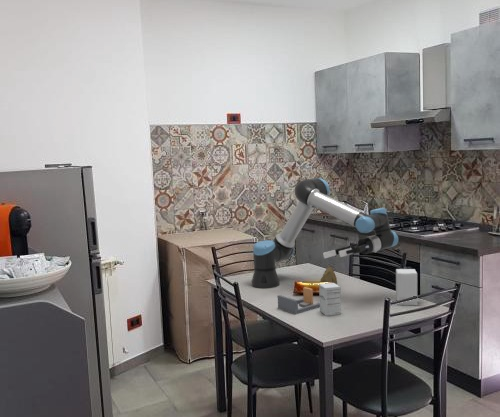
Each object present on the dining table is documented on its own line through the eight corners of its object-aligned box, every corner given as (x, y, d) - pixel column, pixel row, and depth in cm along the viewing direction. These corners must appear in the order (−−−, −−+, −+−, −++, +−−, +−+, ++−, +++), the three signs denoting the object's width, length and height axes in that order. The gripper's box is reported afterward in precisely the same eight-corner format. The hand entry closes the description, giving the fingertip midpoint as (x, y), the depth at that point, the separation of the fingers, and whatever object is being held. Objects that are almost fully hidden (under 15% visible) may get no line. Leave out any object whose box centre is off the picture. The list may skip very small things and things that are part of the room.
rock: (343, 283, 269) (339, 276, 279) (333, 271, 267) (329, 264, 277) (326, 296, 270) (323, 288, 280) (316, 284, 268) (313, 277, 278)
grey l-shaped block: (278, 308, 239) (277, 295, 238) (308, 299, 250) (308, 287, 250) (295, 314, 229) (295, 301, 228) (326, 305, 241) (326, 292, 240)
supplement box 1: (319, 311, 232) (318, 283, 231) (334, 309, 234) (334, 282, 233) (325, 316, 225) (325, 287, 224) (341, 314, 227) (340, 286, 225)
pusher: (298, 305, 242) (297, 288, 241) (305, 303, 244) (305, 287, 243) (305, 308, 238) (305, 291, 237) (313, 305, 240) (312, 289, 239)
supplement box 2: (417, 305, 235) (417, 273, 233) (397, 305, 236) (397, 273, 235) (415, 299, 243) (415, 268, 242) (395, 299, 245) (395, 268, 244)
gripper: (387, 251, 233) (348, 262, 224) (355, 253, 255) (319, 263, 247) (383, 235, 233) (344, 245, 224) (352, 239, 256) (315, 248, 247)
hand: (331, 254), depth 236 cm, fingers open, 13 cm apart
